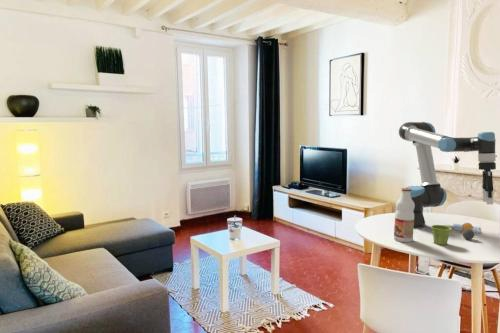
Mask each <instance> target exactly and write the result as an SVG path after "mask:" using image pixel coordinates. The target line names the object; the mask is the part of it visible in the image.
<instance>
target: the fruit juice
mask: <svg viewBox="0 0 500 333" xmlns="http://www.w3.org/2000/svg"><path fill="white" fill-rule="evenodd" d="M400 190H401V191H400V192H401V195H400V197H399V199H398V200H397V201H396V203H395V206H396V211H395V213H394V227H393V228H394V229H393V231H394V232H393V239H394V240H395V241H397V242H399V243H400V242H401V243H412V242H413V240H414V212H413V210H414V208H415V204H414V202H413V200H412V199H411V189H410V188H406V187H402V188H401V189H400Z"/></svg>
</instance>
